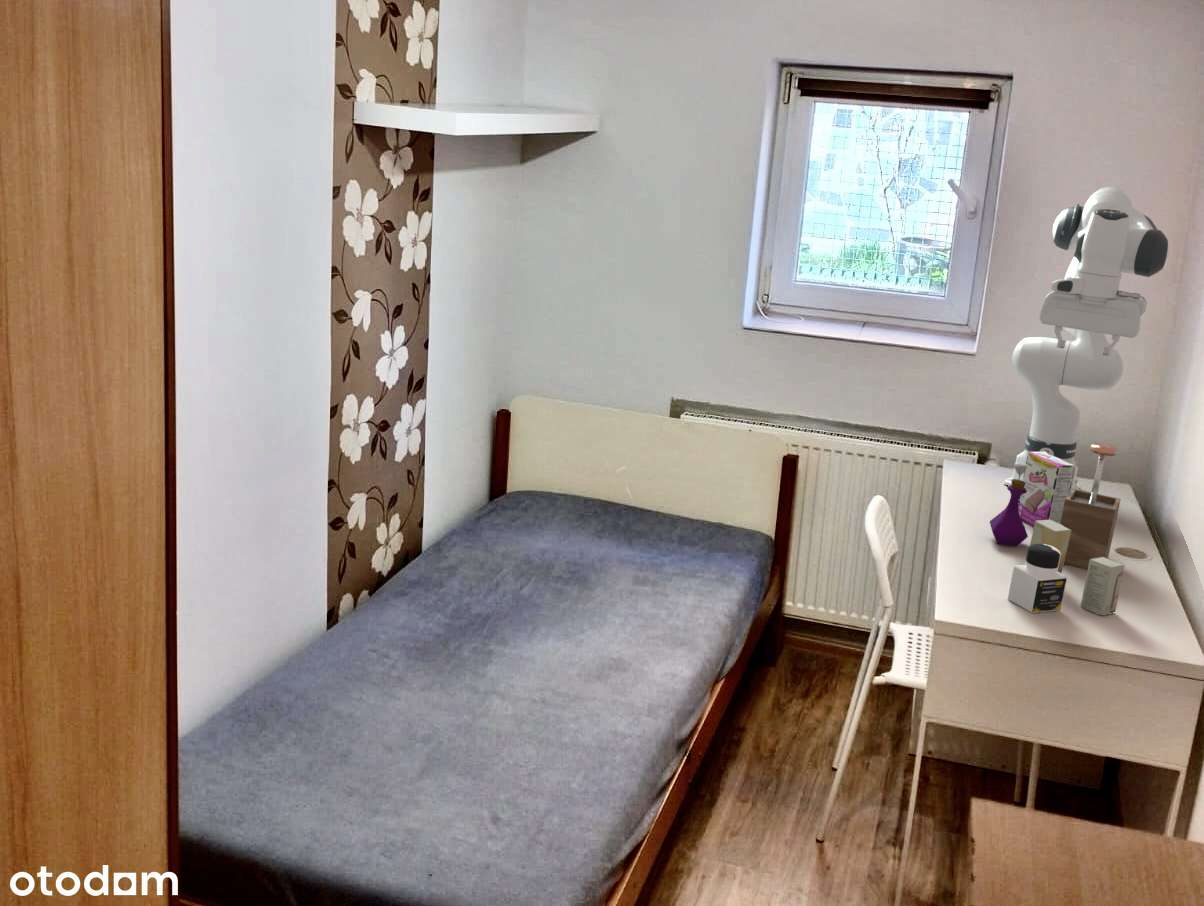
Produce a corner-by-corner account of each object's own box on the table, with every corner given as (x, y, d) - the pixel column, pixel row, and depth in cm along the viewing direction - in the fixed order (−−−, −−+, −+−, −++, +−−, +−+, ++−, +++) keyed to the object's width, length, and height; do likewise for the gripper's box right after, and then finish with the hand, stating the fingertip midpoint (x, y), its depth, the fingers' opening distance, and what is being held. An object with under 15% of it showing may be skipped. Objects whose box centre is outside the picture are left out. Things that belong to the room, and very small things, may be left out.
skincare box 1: (1022, 575, 258) (1033, 519, 254) (1038, 574, 260) (1049, 518, 256) (1044, 587, 252) (1055, 530, 249) (1060, 586, 254) (1072, 529, 251)
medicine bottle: (1032, 614, 238) (1043, 554, 235) (1006, 599, 244) (1017, 541, 241) (1060, 610, 241) (1073, 552, 238) (1035, 596, 247) (1046, 539, 244)
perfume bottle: (1025, 550, 273) (1040, 472, 268) (989, 545, 274) (1004, 467, 269) (1021, 539, 280) (1036, 462, 275) (987, 534, 282) (1001, 458, 277)
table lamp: (1075, 498, 272) (1087, 439, 268) (1113, 506, 268) (1125, 446, 265) (1069, 507, 265) (1082, 446, 261) (1108, 515, 262) (1121, 454, 258)
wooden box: (1059, 548, 276) (1072, 488, 273) (1107, 559, 272) (1120, 498, 268) (1052, 561, 268) (1065, 499, 264) (1101, 573, 264) (1115, 510, 260)
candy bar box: (1014, 517, 296) (1026, 451, 291) (1031, 516, 297) (1044, 450, 293) (1045, 534, 286) (1058, 465, 281) (1062, 533, 287) (1076, 465, 283)
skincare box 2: (1115, 613, 242) (1126, 565, 239) (1101, 617, 240) (1112, 568, 237) (1093, 603, 246) (1103, 555, 243) (1078, 606, 244) (1089, 558, 241)
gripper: (1149, 294, 264) (1136, 358, 268) (1049, 279, 273) (1037, 342, 277) (1146, 295, 259) (1133, 361, 262) (1044, 281, 268) (1032, 345, 271)
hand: (1083, 351), depth 270 cm, fingers open, 8 cm apart
